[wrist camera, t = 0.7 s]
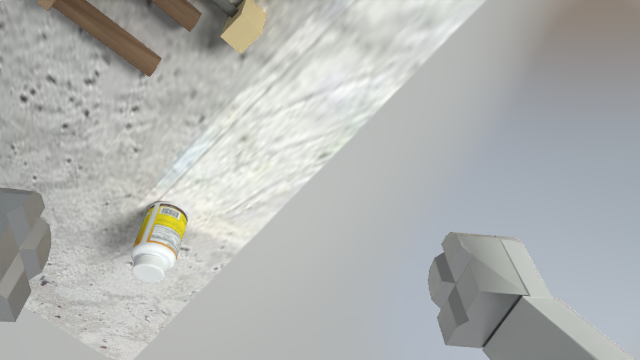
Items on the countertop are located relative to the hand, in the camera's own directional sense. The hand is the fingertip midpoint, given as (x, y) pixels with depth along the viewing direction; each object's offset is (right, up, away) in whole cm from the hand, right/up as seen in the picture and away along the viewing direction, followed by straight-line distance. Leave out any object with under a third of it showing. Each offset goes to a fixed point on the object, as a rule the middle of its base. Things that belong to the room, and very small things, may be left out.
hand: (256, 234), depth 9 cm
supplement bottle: (-20, -3, +55) cm, 59 cm away
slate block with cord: (-10, +20, +32) cm, 39 cm away
